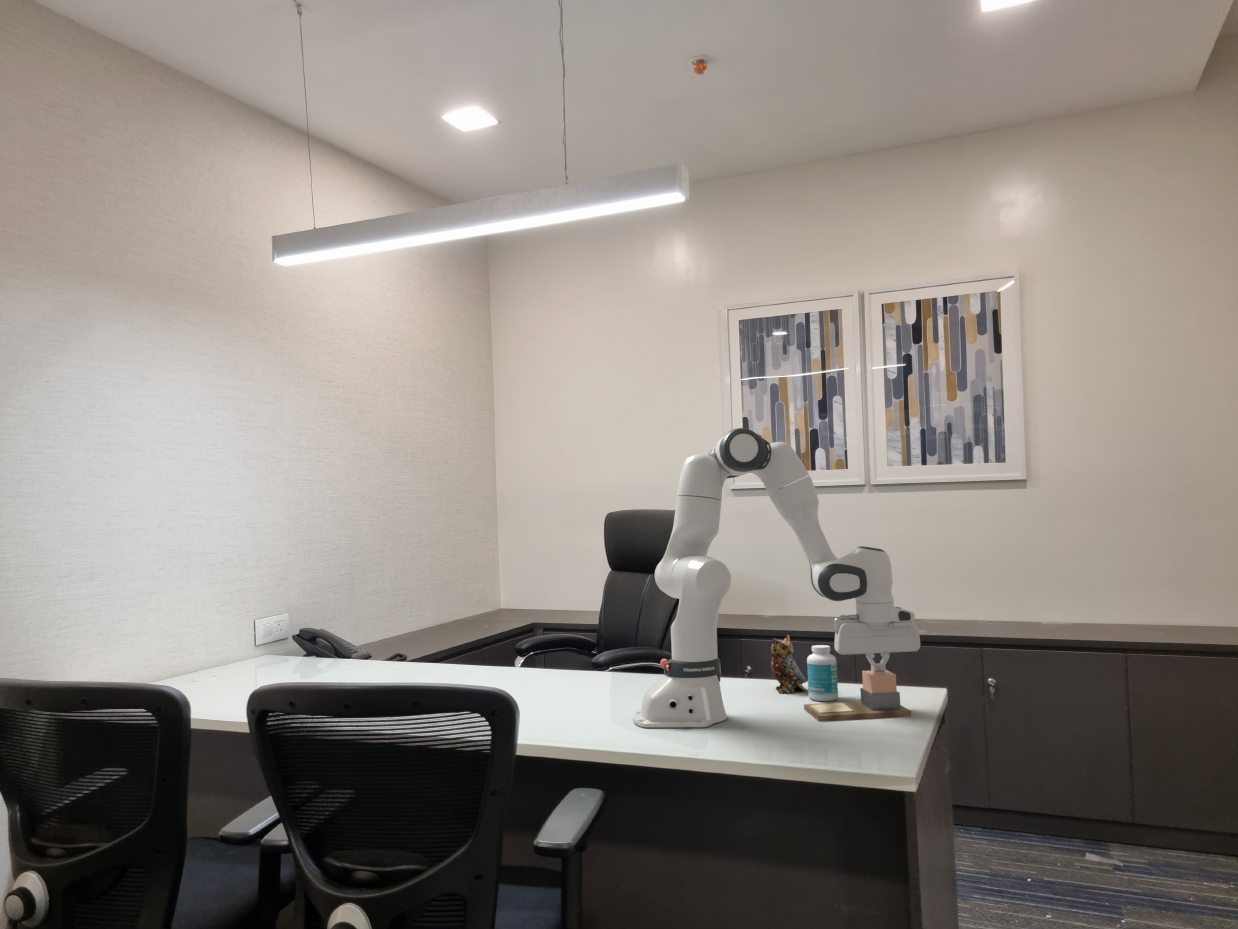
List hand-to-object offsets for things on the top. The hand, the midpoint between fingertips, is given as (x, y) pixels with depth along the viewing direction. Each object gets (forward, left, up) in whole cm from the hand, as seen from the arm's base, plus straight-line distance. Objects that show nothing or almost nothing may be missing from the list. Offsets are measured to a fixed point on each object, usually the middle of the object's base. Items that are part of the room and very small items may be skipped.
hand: (878, 671), depth 200 cm
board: (-6, 0, -9) cm, 11 cm away
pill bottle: (-9, +16, -10) cm, 21 cm away
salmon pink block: (0, 0, -4) cm, 4 cm away
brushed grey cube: (0, 0, -8) cm, 8 cm away
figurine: (-15, +27, -10) cm, 32 cm away
